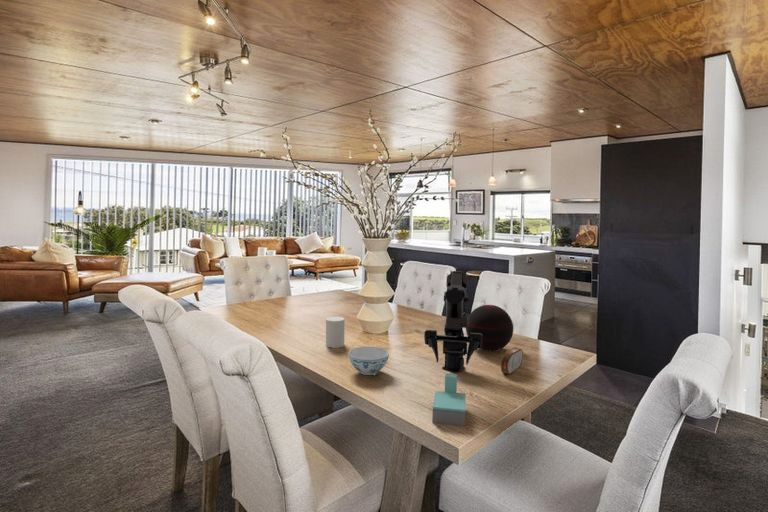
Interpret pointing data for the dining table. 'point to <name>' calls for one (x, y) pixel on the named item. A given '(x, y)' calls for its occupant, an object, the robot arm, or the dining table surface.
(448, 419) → the grey box
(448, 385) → the teal stepped block
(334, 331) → the gray cylinder
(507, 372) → the tin
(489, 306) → the decorative orb
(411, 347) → the dining table surface
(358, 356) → the chinaware
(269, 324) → the dining table surface
